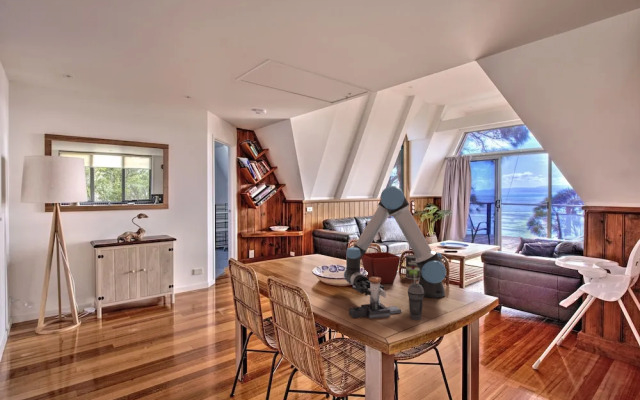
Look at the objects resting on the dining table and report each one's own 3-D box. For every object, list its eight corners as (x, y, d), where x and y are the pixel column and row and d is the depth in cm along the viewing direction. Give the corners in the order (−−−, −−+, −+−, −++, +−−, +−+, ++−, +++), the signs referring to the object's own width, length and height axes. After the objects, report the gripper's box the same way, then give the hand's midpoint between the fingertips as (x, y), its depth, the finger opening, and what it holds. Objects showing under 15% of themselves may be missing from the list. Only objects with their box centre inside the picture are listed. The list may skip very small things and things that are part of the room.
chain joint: (393, 307, 164) (393, 301, 164) (403, 314, 154) (403, 308, 154) (347, 312, 157) (347, 306, 157) (355, 320, 148) (355, 313, 148)
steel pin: (382, 307, 157) (382, 277, 157) (379, 311, 152) (379, 280, 152) (370, 306, 159) (370, 276, 159) (367, 309, 154) (367, 279, 154)
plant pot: (360, 278, 219) (360, 253, 218) (387, 276, 223) (387, 251, 223) (371, 286, 200) (371, 258, 200) (400, 284, 205) (401, 257, 204)
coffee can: (421, 280, 214) (421, 258, 214) (404, 279, 218) (404, 257, 217) (422, 276, 224) (422, 255, 223) (406, 275, 227) (406, 254, 227)
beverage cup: (414, 322, 145) (414, 276, 145) (403, 316, 152) (404, 272, 152) (427, 319, 148) (428, 274, 148) (416, 314, 155) (417, 271, 154)
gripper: (375, 287, 175) (397, 301, 153) (344, 290, 171) (361, 305, 148) (375, 273, 175) (397, 285, 153) (344, 275, 170) (362, 288, 148)
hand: (379, 295), depth 150 cm, fingers closed on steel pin, 4 cm apart
